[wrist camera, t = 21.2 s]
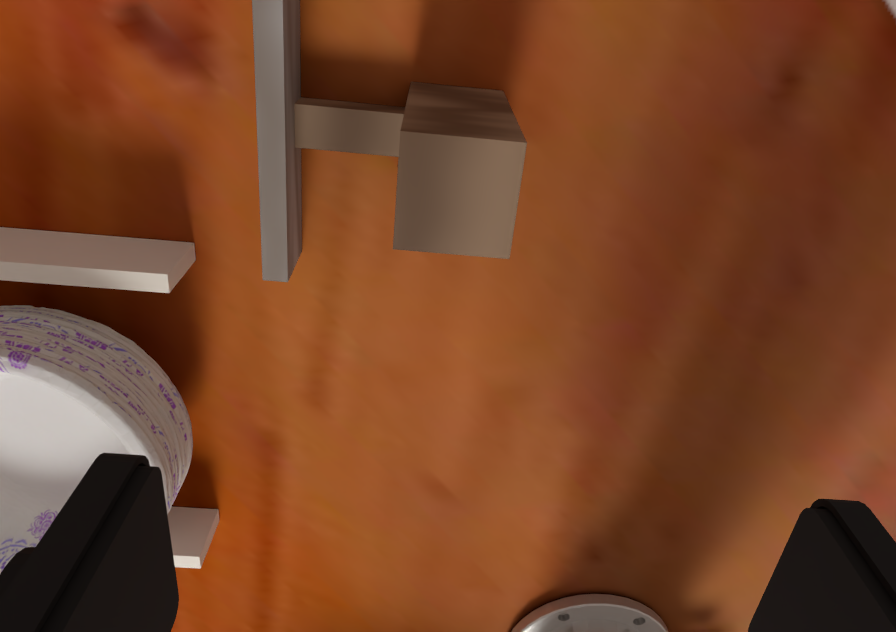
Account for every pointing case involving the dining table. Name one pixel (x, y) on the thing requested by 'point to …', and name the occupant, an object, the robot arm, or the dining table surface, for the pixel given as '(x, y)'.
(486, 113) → the scraper
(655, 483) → the dining table surface
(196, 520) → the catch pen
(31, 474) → the paper bowls
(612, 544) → the dining table surface
